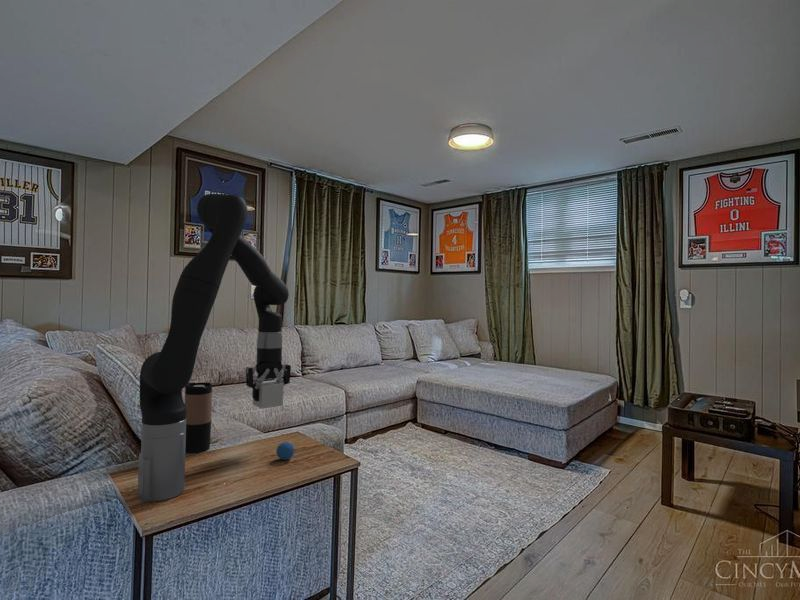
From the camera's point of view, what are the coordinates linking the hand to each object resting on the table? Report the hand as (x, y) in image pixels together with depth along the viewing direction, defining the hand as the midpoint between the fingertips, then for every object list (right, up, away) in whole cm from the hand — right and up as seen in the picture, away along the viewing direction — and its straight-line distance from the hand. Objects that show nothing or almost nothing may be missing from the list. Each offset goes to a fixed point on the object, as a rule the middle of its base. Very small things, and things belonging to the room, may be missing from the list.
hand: (268, 399), depth 132 cm
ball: (+8, -13, -9) cm, 17 cm away
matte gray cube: (0, -2, 0) cm, 2 cm away
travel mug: (-21, -15, -2) cm, 26 cm away
